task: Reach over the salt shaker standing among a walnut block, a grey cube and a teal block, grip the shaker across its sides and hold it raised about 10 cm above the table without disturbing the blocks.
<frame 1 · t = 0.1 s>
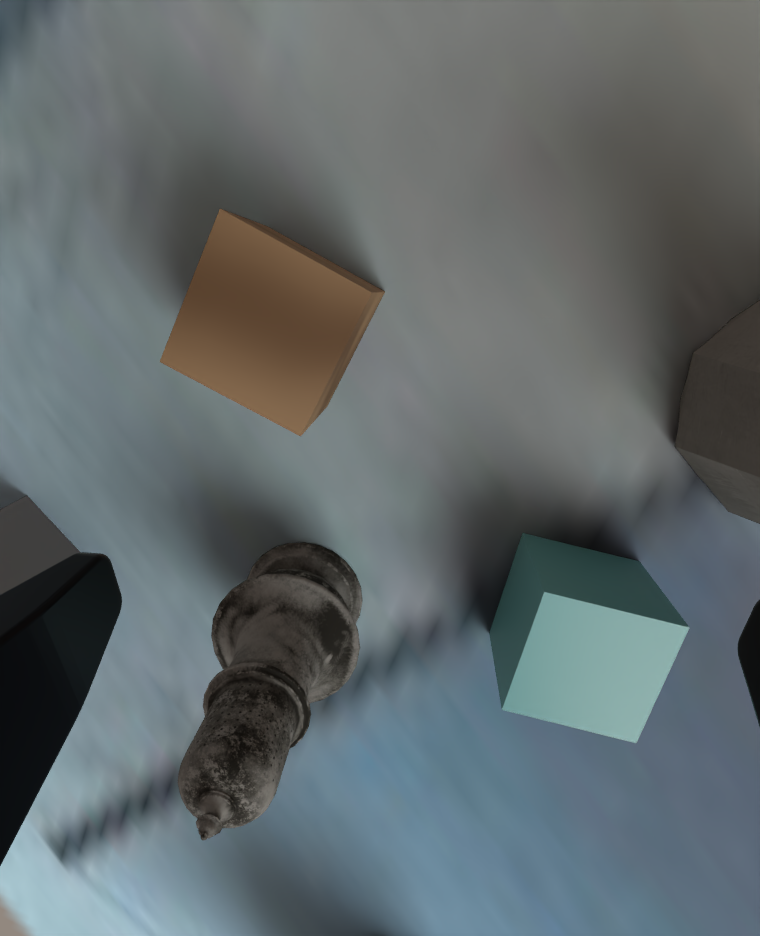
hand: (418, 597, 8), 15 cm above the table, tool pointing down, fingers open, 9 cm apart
teal block: (561, 597, 25), on the table
grey cube: (32, 565, 27), on the table
salt shaker: (304, 594, 26), on the table
walnut block: (298, 319, 22), on the table
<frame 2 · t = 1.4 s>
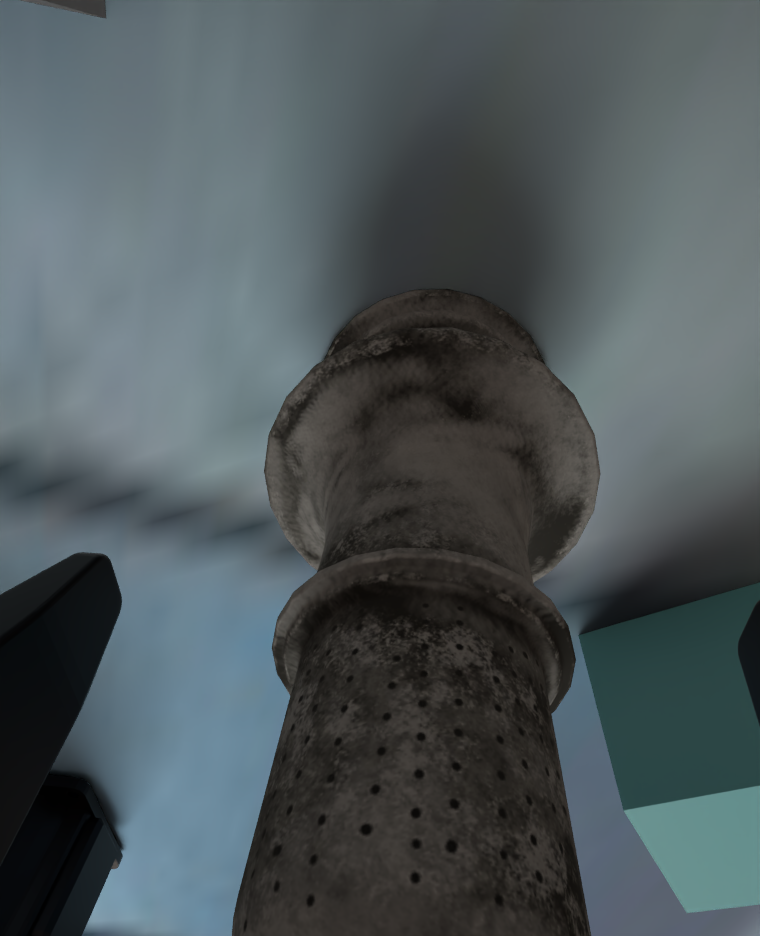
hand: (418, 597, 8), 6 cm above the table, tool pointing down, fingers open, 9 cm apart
teal block: (691, 663, 17), on the table
salt shaker: (431, 401, 13), on the table
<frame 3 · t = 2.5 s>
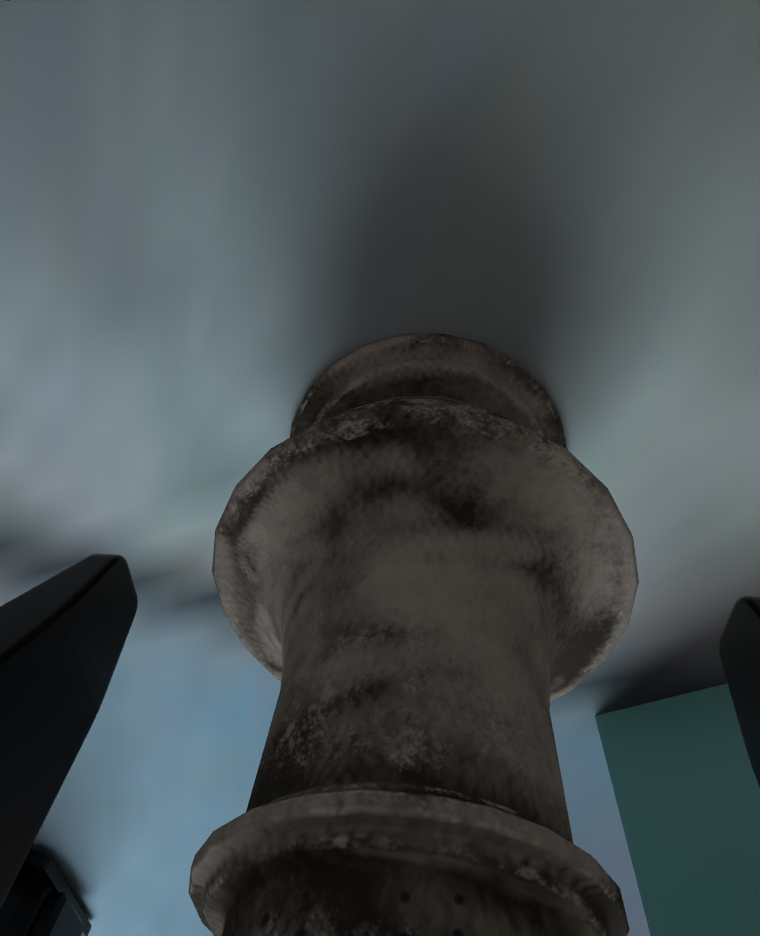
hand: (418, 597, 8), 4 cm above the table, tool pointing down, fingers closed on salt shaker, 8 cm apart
teal block: (723, 746, 15), on the table
salt shaker: (424, 461, 11), on the table, touching gripper
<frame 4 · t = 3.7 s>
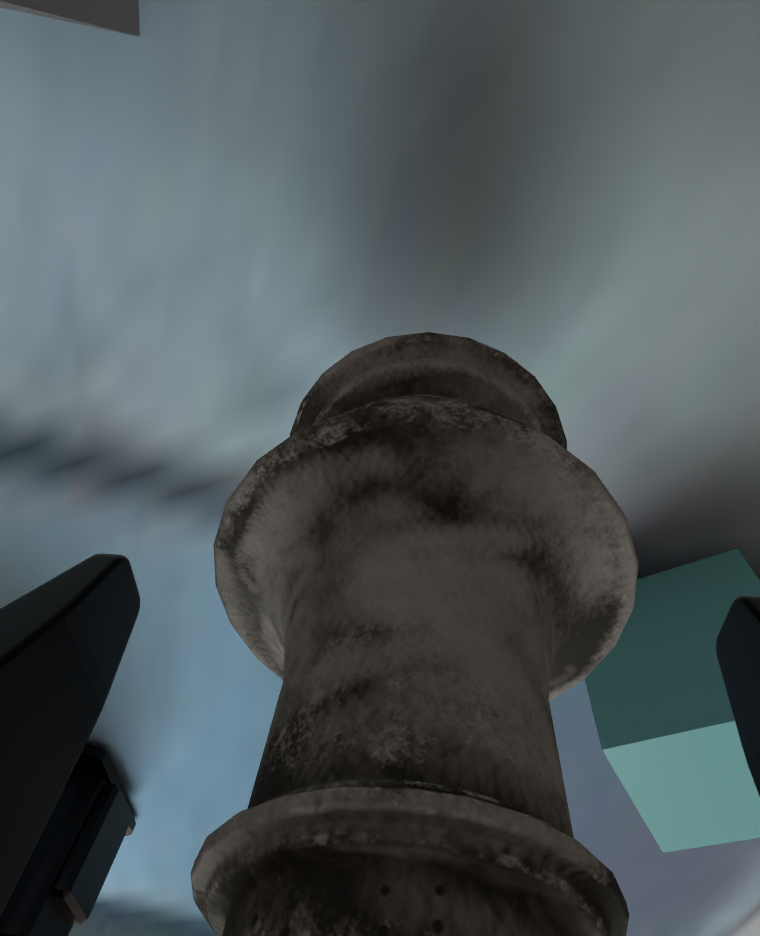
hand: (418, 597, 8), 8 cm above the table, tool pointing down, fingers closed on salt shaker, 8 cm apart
teal block: (670, 629, 18), on the table
salt shaker: (425, 460, 11), point 4 cm above the table, touching gripper
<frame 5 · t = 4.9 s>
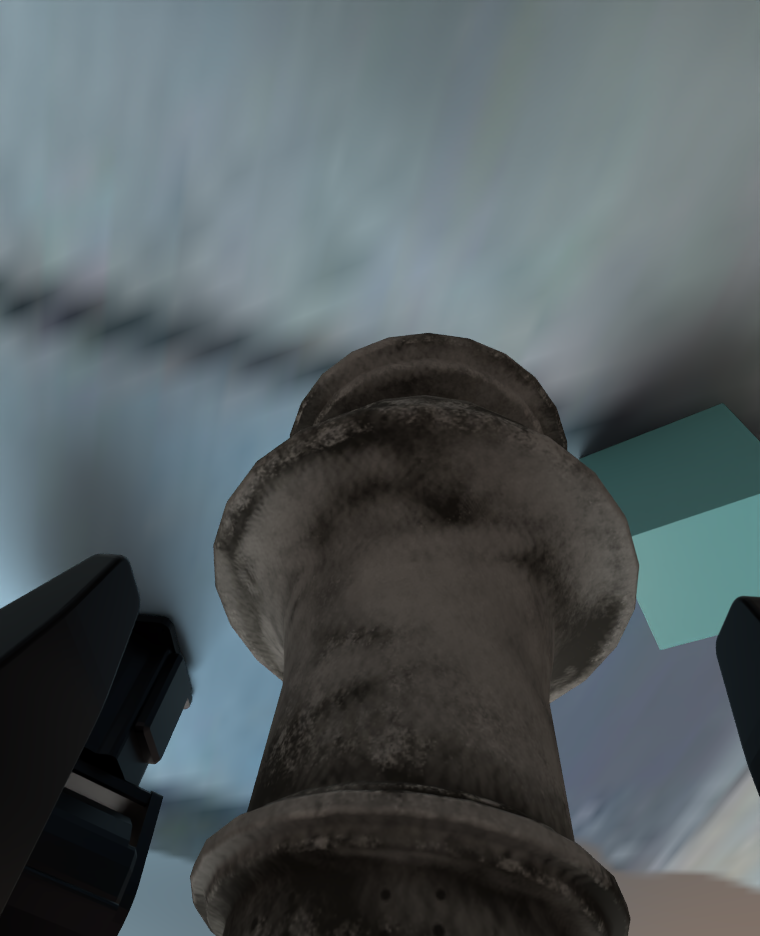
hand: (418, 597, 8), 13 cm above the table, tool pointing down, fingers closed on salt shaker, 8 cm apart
teal block: (667, 484, 22), on the table
salt shaker: (425, 461, 11), point 9 cm above the table, touching gripper
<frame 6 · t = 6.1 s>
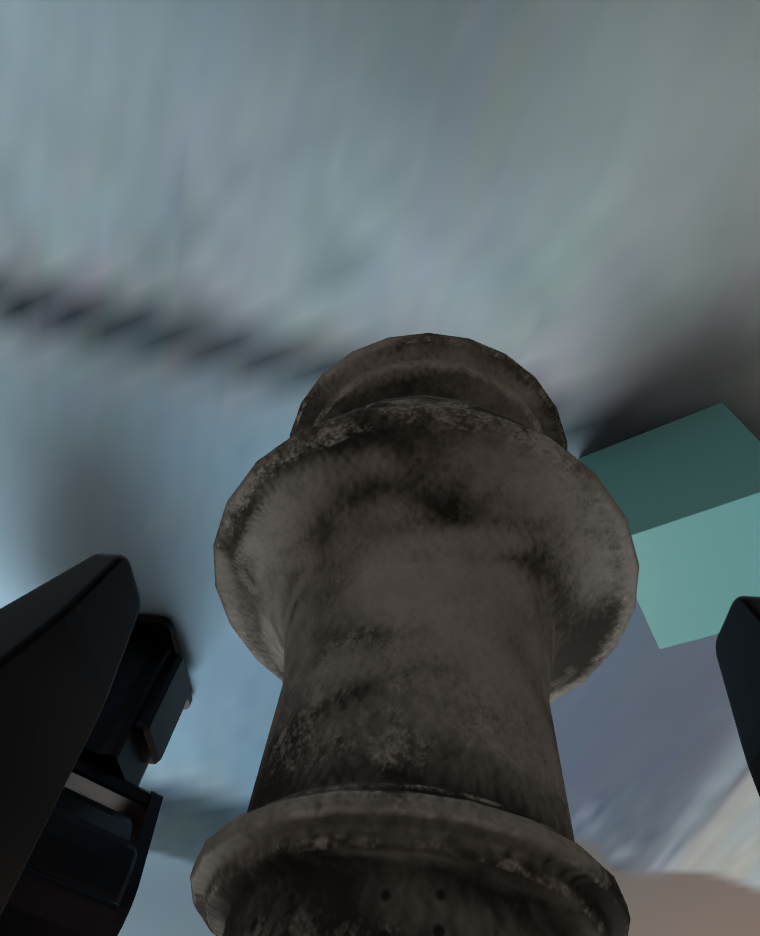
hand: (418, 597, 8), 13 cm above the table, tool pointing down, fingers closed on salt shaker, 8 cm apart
teal block: (666, 483, 22), on the table
salt shaker: (425, 461, 11), point 9 cm above the table, touching gripper
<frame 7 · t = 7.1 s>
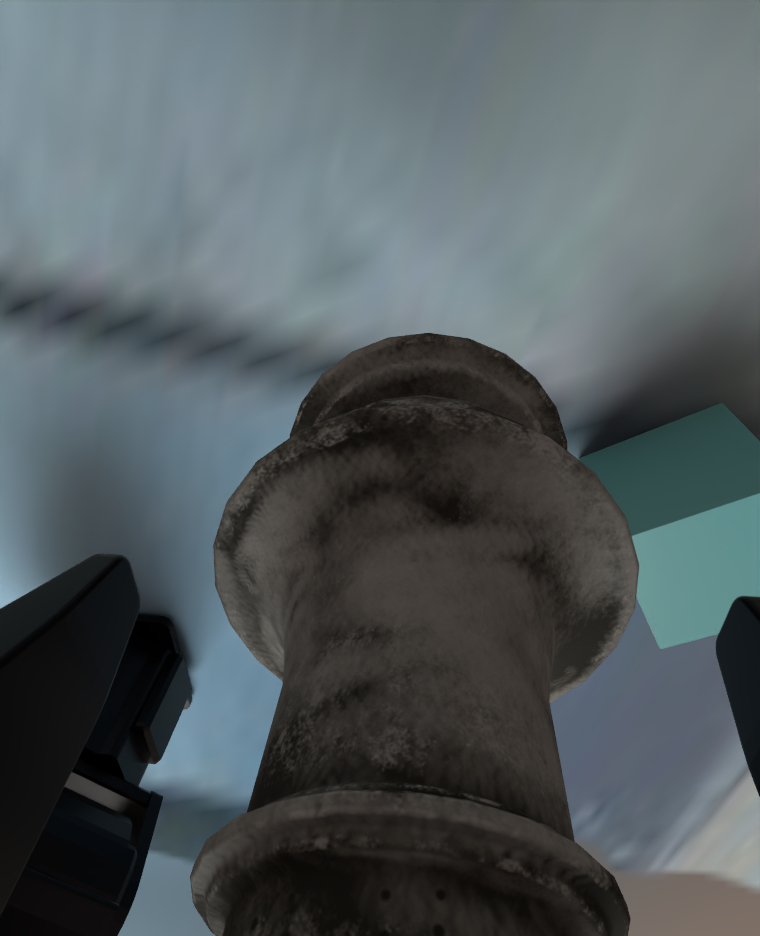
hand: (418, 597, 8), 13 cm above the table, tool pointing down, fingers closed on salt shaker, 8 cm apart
teal block: (666, 483, 22), on the table
salt shaker: (425, 461, 11), point 9 cm above the table, touching gripper
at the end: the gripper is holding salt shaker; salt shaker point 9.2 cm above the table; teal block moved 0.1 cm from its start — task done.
